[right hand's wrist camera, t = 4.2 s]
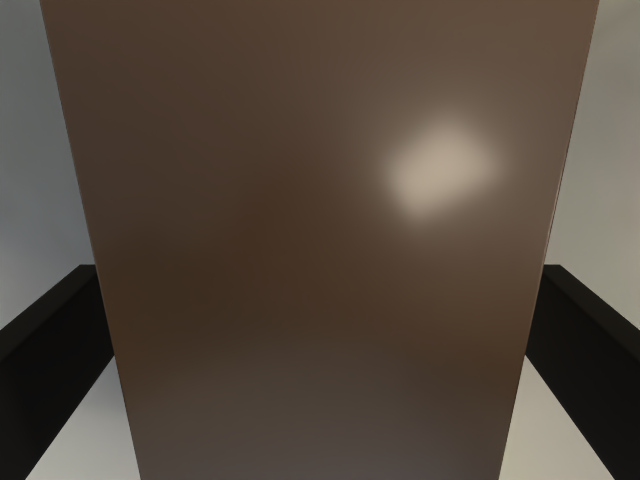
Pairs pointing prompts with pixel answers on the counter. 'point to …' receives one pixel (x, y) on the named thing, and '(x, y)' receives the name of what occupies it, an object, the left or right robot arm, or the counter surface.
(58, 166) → the counter surface
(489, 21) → the beam
